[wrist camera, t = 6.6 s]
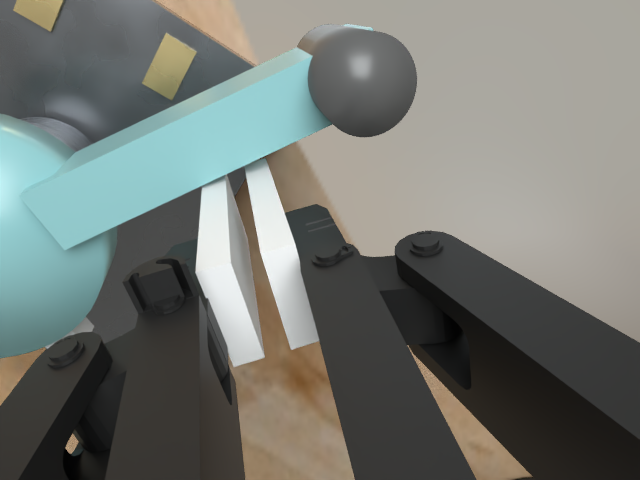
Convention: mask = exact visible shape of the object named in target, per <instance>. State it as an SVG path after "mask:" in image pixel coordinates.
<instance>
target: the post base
mask: <svg viewBox="0 0 640 480" xmlns="http://www.w3.org/2000/svg"><path fill="white" fill-rule="evenodd" d="M254 67H256V65H254V64H253V63H251V62H250V61H248V60H247V59H245V58H243V57H242V56H240V55H239V54H237V53H236V52H234V51H233V50H231V49H230V48H228V47H227V46H225V45H223V44H222V43H220V42H219V41H217V40H216V39H214V38H213V37H211V36H210V35H208V34H207V33H205V32H203V31H202V30H200V29H199V28H197V27H196V26H194V25H193V24H191V23H190V22H188V21H187V20H185V19H183V18H182V17H180V16H179V15H177V14H176V13H174V12H173V11H171V10H170V9H168V8H167V7H165V6H163V5H162V4H160V3H159V2H157V1H156V0H0V114H4V115H8V116H11V117H14V118H17V119H20V120H22V121H25V122H28V123H30V124H32V125H34V126H36V127H38V128H40V129H42V130H44V131H46V132H48V133H49V134H51V135H52V136H54V137H56V138H57V139H59V140H61V141H62V142H63V143H64V144H66V145H67V146H68V147H69V148H71V149H72V150H73V151H75V152H77V151H79V150H81V149H83V148H85V147H88V146H90V145H92V144H94V143H96V142H98V141H100V140H102V139H104V138H107V137H109V136H111V135H113V134H115V133H117V132H119V131H121V130H123V129H125V128H128V127H130V126H132V125H134V124H136V123H138V122H140V121H142V120H144V119H147V118H149V117H151V116H153V115H155V114H157V113H159V112H161V111H163V110H165V109H168V108H170V107H172V106H174V105H176V104H178V103H180V102H182V101H184V100H187V99H189V98H191V97H193V96H195V95H197V94H199V93H201V92H203V91H206V90H208V89H210V88H212V87H214V86H216V85H218V84H220V83H222V82H224V81H227V80H229V79H231V78H233V77H235V76H237V75H239V74H241V73H243V72H246V71H248V70H250V69H252V68H254ZM255 161H256V160H255ZM227 177H228V180H229V183H230V186H231V189H232V192H233V195H234V197H235V195H236V194H237V192H238V190H239V189H240V187H241V185H242V184H243V182H244V180H245V179H246V172H245V167H244V166H243V167H241V168H238V169H236V170H234V171H232V172H230V173H228V174H227ZM201 194H202V186H200V187H198V188H196V189H194V190H192V191H190V192H187V193H185V194H183V195H181V196H179V197H177V198H175V199H173V200H170V201H168V202H166V203H164V204H162V205H160V206H158V207H156V208H153V209H151V210H149V211H147V212H145V213H143V214H141V215H139V216H137V217H134V218H132V219H130V220H128V221H126V222H124V223H122V224H120V225H117V244H116V250H115V254H114V257H113V260H112V263H111V266H110V268H109V270H108V273H107V275H106V278H105V280H104V282H103V285H102V287H101V290H100V292H99V294H98V297H97V299H96V301H95V303H94V305H93V307H92V308H91V310H90V312H89V313H88V314H87V315H86V317H87V319H88V320H89V321H90V322H91V323H92V324H93V325H94V328H93V330H92V332H94V333H96V334H99V336H100V337H101V339H102V341H103V343H104V344H105V343H107V342H109V341H111V340H113V339H115V338H117V337H119V336H121V335H123V334H125V333H127V332H129V331H131V330H132V329H134V328H135V327H136V323H137V318H138V312H137V310H136V308H135V307H134V305H133V303H132V301H131V299H130V297H129V295H128V293H127V291H126V289H125V287H124V285H123V283H122V282H123V280H124V279H125V277H126V275H127V274H129V273H130V272H131V271H132V270H133V269H134V268H136V267H138V266H140V265H141V264H143V263H145V262H147V261H150V260H153V259H155V258H158V257H163V256H165V255H166V254H167V253H168V251H169V250H170V249H171V248H172V247H173V246H174V245H177V244H180V243H184V242H188V241H191V240H195V239H198V233H199V220H200V207H201Z"/></svg>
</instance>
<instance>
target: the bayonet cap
mask: <svg viewBox="0 0 640 480" xmlns="http://www.w3.org/2000/svg"><path fill="white" fill-rule="evenodd" d="M416 86H417V75H416V68H415V64H414V61H413V59H412V57H411V55H410V53H409V51H408V50H407V49H406V47H405V46H404V45H403V44H402V43H401V42H400V41H398V40H397V39H396V38H394V37H392V36H390V35H388V34H385V33H382V32H376V31H373V29H372V28H371V27H364V26H357V25H351V24H345V25H342V26H341V25H334V24H326V25H321V26H319V27H316V28H314V29H312V30H311V31H309V32H308V33H307V34H306V35H305V36H304V37H303V38H302V39H301V41H300V42H299V44H298V46H297V47H296V48H294V49H292V50H290V51H288V52H286V53H283V54H281V55H279V56H277V57H275V58H273V59H271V60H269V61H267V62H264V63H263V64H260V65H258V66H256V67H254V68H252V69H250V70H248V71H246V72H243V73H241V74H239V75H237V76H235V77H233V78H231V79H229V80H227V81H224V82H222V83H220V84H218V85H216V86H214V87H212V88H210V89H208V90H206V91H203V92H201V93H199V94H197V95H195V96H193V97H191V98H189V99H187V100H184V101H182V102H180V103H178V104H176V105H174V106H172V107H170V108H168V109H165V110H163V111H161V112H159V113H157V114H155V115H153V116H151V117H149V118H147V119H144V120H142V121H140V122H138V123H136V124H134V125H132V126H130V127H128V128H125V129H123V130H121V131H119V132H117V133H115V134H113V135H111V136H109V137H107V138H104V139H102V140H100V141H98V142H96V143H94V144H92V145H90V146H88V147H85V148H83V149H81V150H79V151H77V152H75V151H73V150H72V149H71V148H69V147H68V146H67V145H66V144H64V143H63V142H62V141H61V140H59V139H57V138H56V137H54V136H52V135H51V134H49V133H48V132H46V131H44V130H42V129H40V128H38V127H36V126H34V125H32V124H30V123H28V122H25V121H22V120H20V119H17V118H14V117H11V116H8V115H4V114H0V358H5V357H10V356H16V355H21V354H25V353H28V352H32V351H35V350H38V349H40V348H43V347H45V348H46V349H48V348H49V347H50V346H52V345H53V344H54V343H55V342H57V341H58V340H60V339H64V337H67V336H69V335H74V334H77V333H81V332H92V330H93V328H94V325H93V324H92V323H91V322H90V321H89V320H88V319H87V317H86V315H87V314H88V313H89V312H90V310H91V308H92V307H93V305H94V303H95V301H96V299H97V297H98V294H99V292H100V290H101V287H102V285H103V282H104V280H105V278H106V275H107V273H108V270H109V268H110V266H111V263H112V260H113V257H114V254H115V250H116V244H117V225H120V224H122V223H124V222H126V221H128V220H130V219H132V218H134V217H137V216H139V215H141V214H143V213H145V212H147V211H149V210H151V209H153V208H156V207H158V206H160V205H162V204H164V203H166V202H168V201H170V200H173V199H175V198H177V197H179V196H181V195H183V194H185V193H187V192H190V191H192V190H194V189H196V188H198V187H200V186H202V185H204V184H207V183H209V182H211V181H213V180H215V179H217V178H219V177H221V176H224V175H226V174H228V173H230V172H232V171H234V170H236V169H238V168H241V167H243V166H245V165H247V164H249V163H251V162H253V161H255V160H258V159H260V158H262V157H264V156H266V155H268V154H270V153H272V152H275V151H277V150H279V149H281V148H283V147H285V146H287V145H289V144H292V143H294V142H296V141H298V140H300V139H302V138H304V137H306V136H309V135H311V134H313V133H315V132H317V131H319V130H321V129H323V128H325V127H328V126H330V125H332V124H333V125H335V126H336V127H337V128H338V129H340V130H341V131H343V132H345V133H347V134H349V135H352V136H357V137H372V136H376V135H379V134H382V133H384V132H386V131H388V130H390V129H391V128H393V127H394V126H395V125H397V123H399V122H400V121H401V120H402V118H403V117H404V116H405V115H406V113H407V112H408V110H409V108H410V106H411V104H412V102H413V99H414V96H415V92H416Z"/></svg>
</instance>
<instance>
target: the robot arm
mask: <svg viewBox="0 0 640 480" xmlns="http://www.w3.org/2000/svg"><path fill="white" fill-rule="evenodd" d="M244 167H245V172H246V178H247V183H248V188H249V194H250V199H251V204H252V210H253V215H254V220H255V226H256V231H257V236H258V242H259V247H260V253H261V256H262V259H263V263H264V266H265V269H266V272H267V275H268V278H269V282H270V285H271V288H272V291H273V294H274V297H275V300H276V304H277V307H278V310H279V313H280V316H281V319H282V323H283V326H284V329H285V332H286V335H287V338H288V342H289V345H290V348H291V350H292V349H295V348H298V347H302V346H305V345H308V344H311V343H315V342H318V341H320V345H321V349H322V353H323V357H324V361H325V365H326V368H327V372H328V376H329V380H330V384H331V388H332V392H333V396H334V399H335V403H336V407H337V411H338V415H339V419H340V423H341V427H342V430H343V434H344V438H345V442H346V446H347V450H348V454H349V458H350V461H351V465H352V469H353V473H354V477H355V480H476V478H475V476H474V474H473V472H472V470H471V468H470V466H469V464H468V463H467V461H466V459H465V457H464V455H463V453H462V451H461V449H460V447H459V445H458V443H457V441H456V439H455V437H454V435H453V433H452V431H451V430H450V428H449V426H448V424H447V422H446V420H445V418H444V416H443V414H442V412H441V410H440V408H439V406H438V404H437V402H436V400H435V399H434V397H433V395H432V393H431V391H430V389H429V387H428V385H427V383H426V381H425V379H424V377H423V375H422V373H421V371H420V369H419V368H418V366H417V364H416V362H415V360H414V358H413V356H412V354H411V352H410V350H409V348H408V346H407V345H409V347H410V349H411V351H412V352H413V354H414V355H415V356H416V357H417V358H418V359H419V360H420V361H421V362H422V363H423V364H424V365H425V366H426V367H427V368H428V369H429V370H430V371H431V372H432V373H433V374H434V375H435V376H436V377H437V378H438V379H439V380H440V381H441V382H442V383H443V384H444V386H445V387H446V388H447V389H448V390H449V391H450V392H451V393H452V394H453V395H454V396H455V397H456V398H457V399H458V400H459V401H460V402H461V403H462V404H463V405H464V406H465V407H466V408H467V409H468V410H469V411H470V412H471V413H472V414H473V415H474V416H475V417H476V419H477V420H478V421H479V422H480V423H481V424H482V425H483V426H484V427H485V428H486V429H487V430H488V431H489V432H490V433H491V434H492V435H493V436H494V437H495V438H496V439H497V440H498V441H499V442H500V443H501V444H502V445H503V446H504V447H505V448H506V449H507V450H508V451H509V453H510V454H511V455H512V456H513V457H514V458H515V459H516V460H517V461H518V462H519V463H520V464H521V465H522V466H523V467H524V468H525V469H526V470H527V471H528V472H529V473H530V474H531V475H532V476H533V477H534V478H524V479H518V480H640V343H639V342H637V341H636V340H634V339H632V338H630V337H629V336H627V335H625V334H623V333H622V332H620V331H618V330H616V329H615V328H613V327H611V326H609V325H607V324H606V323H604V322H602V321H601V320H599V319H597V318H595V317H593V316H592V315H590V314H588V313H586V312H585V311H583V310H581V309H580V308H578V307H576V306H574V305H573V304H571V303H569V302H567V301H566V300H564V299H562V298H560V297H558V296H557V295H555V294H553V293H551V292H550V291H548V290H546V289H544V288H543V287H541V286H539V285H537V284H536V283H534V282H532V281H531V280H529V279H527V278H525V277H524V276H522V275H520V274H518V273H517V272H515V271H513V270H511V269H509V268H508V267H506V266H504V265H502V264H501V263H499V262H497V261H496V260H494V259H492V258H490V257H488V256H487V255H485V254H483V253H481V252H480V251H478V250H476V249H475V248H473V247H471V246H469V245H468V244H466V243H464V242H462V241H460V240H459V239H457V238H455V237H453V236H452V235H449V234H446V233H443V232H436V231H425V232H424V231H422V232H417V233H415V234H411V235H408V236H406V237H405V238H403V239H401V240H400V241H399V242H398V243H397V245H396V246H395V256H385V257H367V256H362V255H360V253H359V251H358V249H356V248H355V247H354V246H353V245H351V244H348V243H346V241H345V240H344V238H343V236H342V234H341V233H340V231H339V229H338V227H337V226H336V225H335V222H334V220H333V219H332V217H331V215H330V213H329V212H328V210H327V209H326V208H324V207H322V206H319V205H317V204H315V205H311V206H308V207H304V208H301V209H297V210H293V211H290V212H286V213H284V210H283V207H282V204H281V201H280V198H279V195H278V193H277V190H276V187H275V184H274V181H273V178H272V175H271V172H270V169H269V166H268V164H267V161H266V158H264V159H261V160H257V161H253V162H251V163H249V164H247V165H245V166H244ZM122 283H123V285H124V287H125V289H126V291H127V293H128V295H129V297H130V299H131V301H132V303H133V305H134V307H135V308H136V310H137V312H138V318H137V323H136V327H135V328H134V329H132V330H131V331H129V332H127V333H125V334H123V335H121V336H119V337H117V338H115V339H113V340H111V341H109V342H107V343H105V344H104V343H103V341H102V339H101V337H100V336H99V334H96V333H94V332H81V333H77V334H74V335H69V336H67V337H64V339H60V340H58V341H57V342H55V343H54V344H53V345H52V346H50V347H49V348H48V349H46V350H45V351H44V352H43V353H42V354H41V355H40V356H39V357H38V358H37V359H36V360H35V362H34V363H33V364H32V365H31V367H30V368H29V369H28V371H27V372H26V373H25V375H24V376H23V377H22V379H21V380H20V381H19V382H18V384H17V385H16V386H15V388H14V389H13V390H12V392H11V393H10V394H9V396H8V397H7V398H6V399H5V401H4V402H3V403H2V405H1V406H0V480H245V472H244V463H243V453H242V443H241V433H240V424H239V414H238V404H237V394H236V385H235V380H234V378H233V375H232V373H231V370H230V368H229V366H228V354H229V356H230V359H231V361H232V364H233V366H234V367H236V366H239V365H243V364H246V363H249V362H252V361H256V360H259V359H262V358H265V356H264V349H263V342H262V335H261V328H260V321H259V314H258V307H257V300H256V293H255V286H254V279H253V272H252V265H251V258H250V251H249V244H248V238H247V235H246V232H245V229H244V226H243V223H242V220H241V216H240V213H239V210H238V207H237V204H236V201H235V198H234V195H233V192H232V189H231V186H230V183H229V180H228V177H227V174H226V175H224V176H221V177H219V178H217V179H215V180H213V181H211V182H209V183H207V184H204V185H202V194H201V207H200V220H199V233H198V239H195V240H191V241H188V242H184V243H180V244H177V245H174V246H173V247H172V248H171V249H170V250H169V251H168V253H167V254H166V255H165V256H163V257H158V258H155V259H153V260H150V261H147V262H145V263H143V264H141V265H140V266H138V267H136V268H134V269H133V270H132V271H131V272H130V273H129V274H127V275H126V277H125V279H124V280H123V282H122ZM72 433H73V434H74V436H75V437H76V438H77V440H78V441H79V443H78V445H77V447H76V448H75V450H74V451H73V453H72V454H69V453H68V452H67V450H66V449H65V447H66V444H67V442H68V440H69V438H70V437H71V435H72Z"/></svg>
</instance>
